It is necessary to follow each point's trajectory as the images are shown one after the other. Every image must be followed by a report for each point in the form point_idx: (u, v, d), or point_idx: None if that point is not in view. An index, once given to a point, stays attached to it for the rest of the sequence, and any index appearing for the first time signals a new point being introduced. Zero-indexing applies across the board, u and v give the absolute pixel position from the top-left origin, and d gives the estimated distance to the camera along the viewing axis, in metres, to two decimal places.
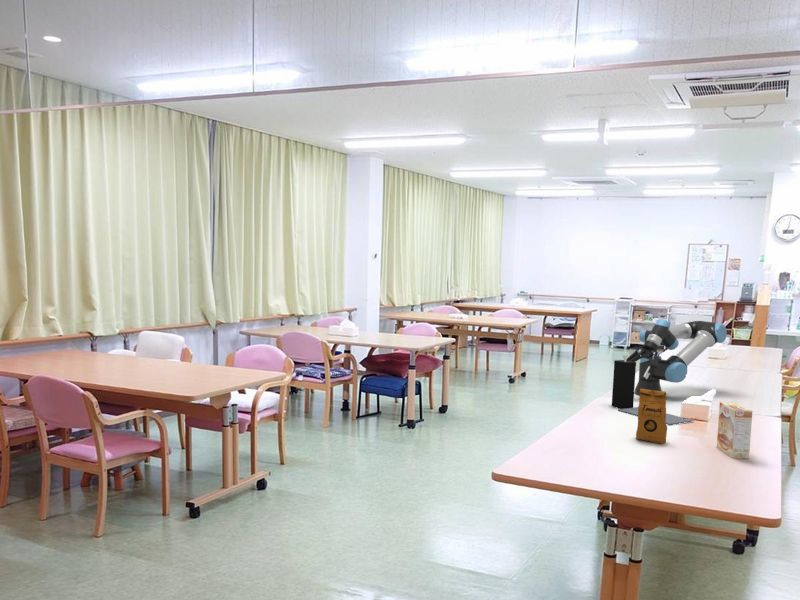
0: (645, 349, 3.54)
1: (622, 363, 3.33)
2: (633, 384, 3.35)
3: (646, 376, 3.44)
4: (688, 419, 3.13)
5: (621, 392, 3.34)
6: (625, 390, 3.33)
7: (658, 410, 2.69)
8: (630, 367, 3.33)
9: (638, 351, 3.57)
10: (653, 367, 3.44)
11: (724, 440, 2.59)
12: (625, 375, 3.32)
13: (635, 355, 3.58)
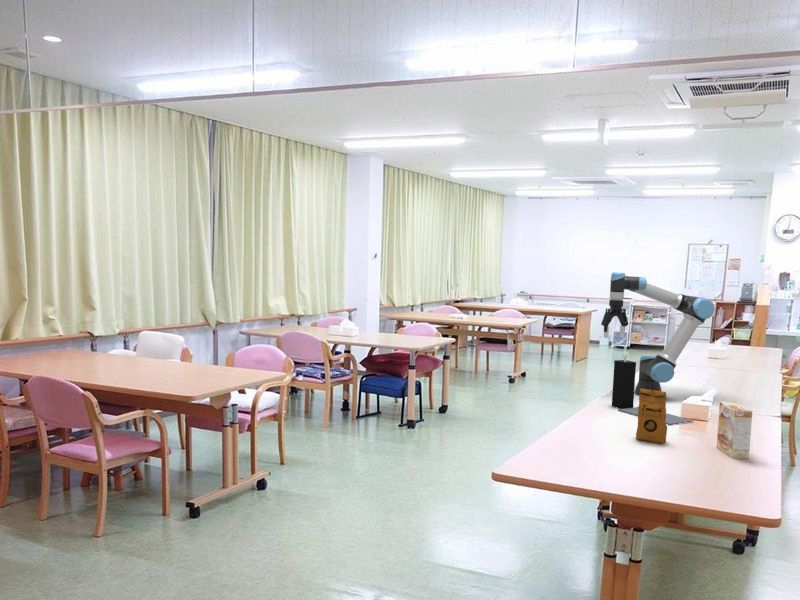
0: None
1: (622, 363, 3.33)
2: (633, 384, 3.35)
3: (605, 336, 3.58)
4: (688, 419, 3.13)
5: (621, 392, 3.34)
6: (625, 390, 3.33)
7: (658, 410, 2.69)
8: (630, 367, 3.33)
9: None
10: (604, 325, 3.57)
11: (724, 440, 2.59)
12: (625, 375, 3.32)
13: (623, 315, 3.63)
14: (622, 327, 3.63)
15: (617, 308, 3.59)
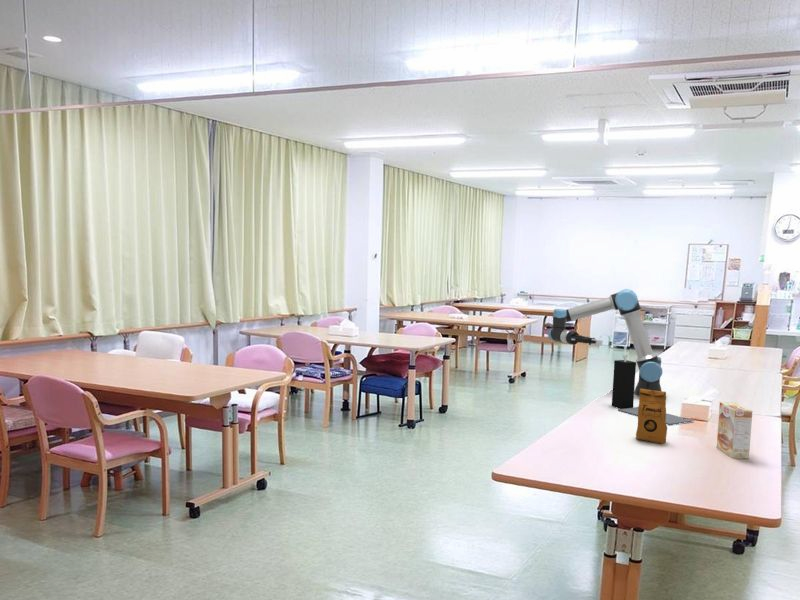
0: None
1: (622, 363, 3.33)
2: (633, 384, 3.35)
3: (599, 342, 3.51)
4: (688, 419, 3.13)
5: (621, 392, 3.34)
6: (625, 390, 3.33)
7: (658, 410, 2.69)
8: (630, 367, 3.33)
9: None
10: (589, 341, 3.56)
11: (724, 440, 2.59)
12: (625, 375, 3.32)
13: None
14: None
15: (576, 336, 3.67)
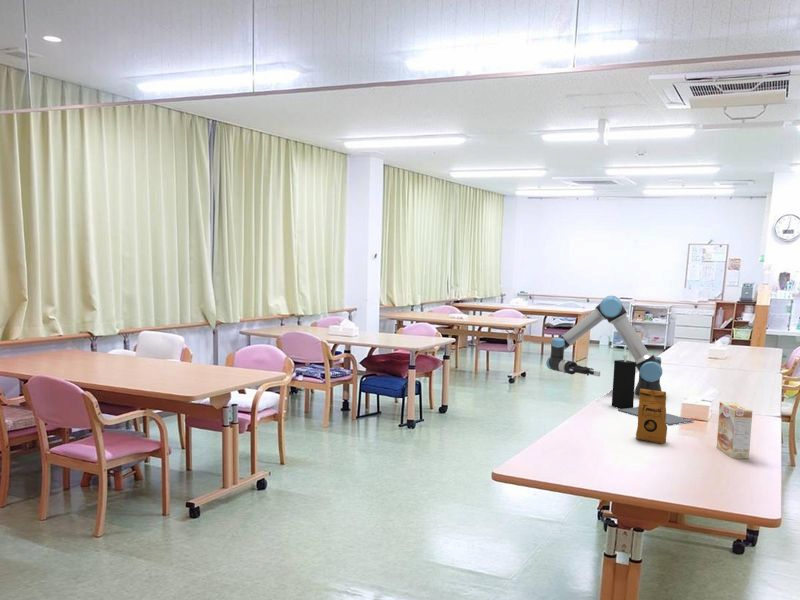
0: None
1: (622, 363, 3.33)
2: (633, 384, 3.35)
3: (597, 373, 3.52)
4: (688, 419, 3.13)
5: (621, 392, 3.34)
6: (625, 390, 3.33)
7: (658, 410, 2.69)
8: (630, 367, 3.33)
9: None
10: (587, 372, 3.57)
11: (724, 440, 2.59)
12: (625, 375, 3.32)
13: (586, 369, 3.65)
14: None
15: None
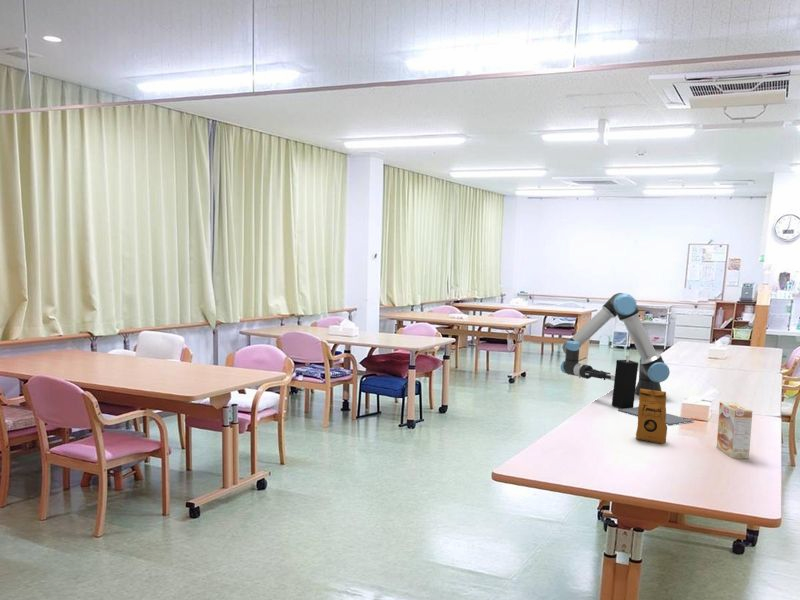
0: None
1: (624, 363, 3.32)
2: (634, 384, 3.34)
3: (614, 378, 3.40)
4: (688, 419, 3.13)
5: (622, 392, 3.33)
6: (626, 390, 3.33)
7: (658, 410, 2.69)
8: (632, 368, 3.32)
9: None
10: (603, 377, 3.44)
11: (724, 440, 2.59)
12: (627, 375, 3.31)
13: (602, 373, 3.52)
14: None
15: None
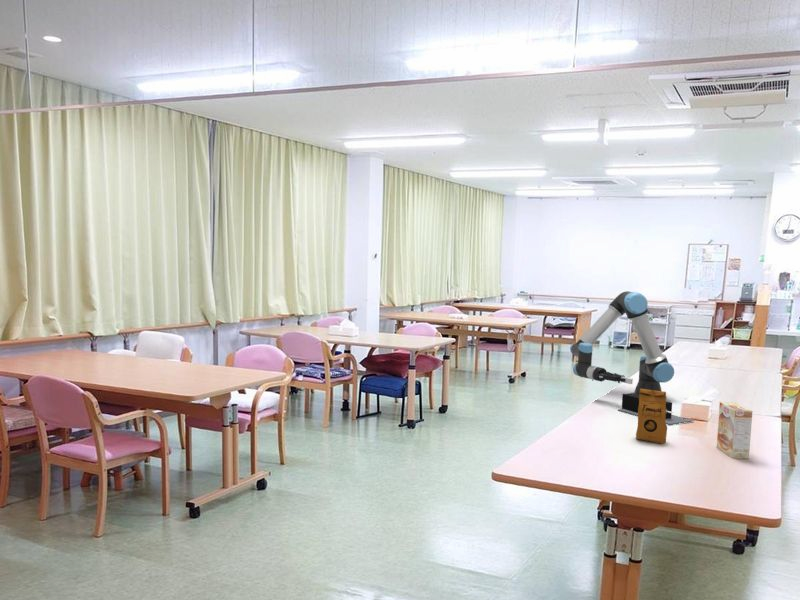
0: None
1: None
2: None
3: (629, 381, 3.33)
4: (688, 419, 3.13)
5: (634, 409, 3.24)
6: None
7: (658, 410, 2.69)
8: None
9: None
10: (618, 379, 3.37)
11: (724, 440, 2.59)
12: None
13: None
14: None
15: (604, 373, 3.48)
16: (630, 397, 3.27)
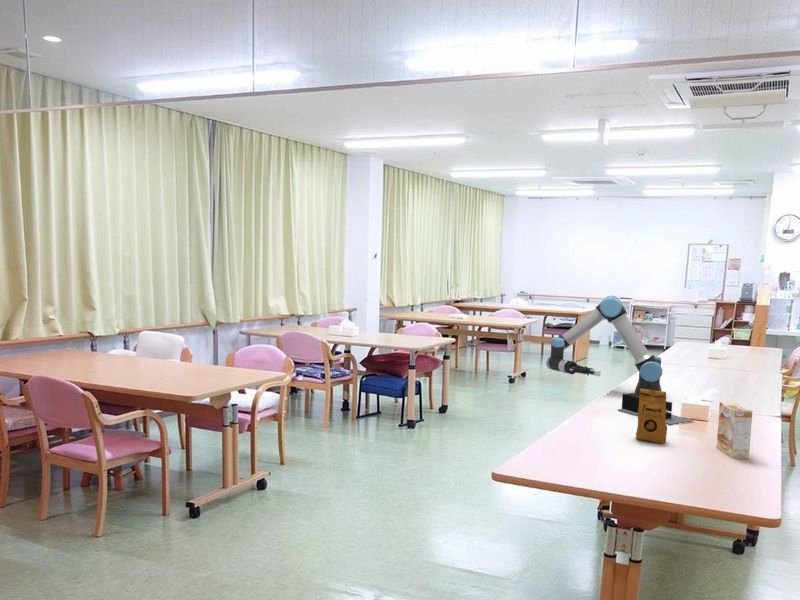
0: None
1: None
2: None
3: (597, 373, 3.52)
4: (688, 419, 3.13)
5: (634, 409, 3.24)
6: None
7: (658, 410, 2.69)
8: None
9: None
10: (587, 372, 3.57)
11: (724, 440, 2.59)
12: None
13: None
14: None
15: None
16: (630, 397, 3.27)
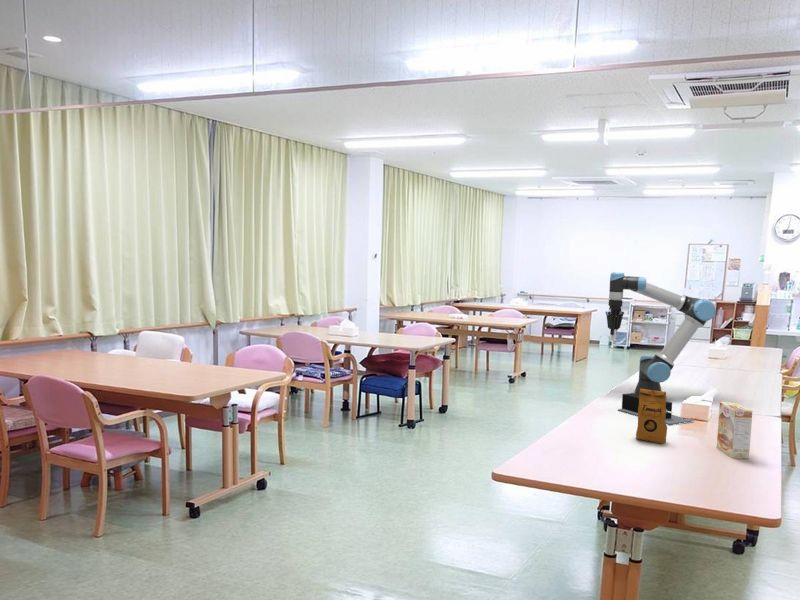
0: None
1: None
2: None
3: (612, 339, 3.64)
4: (688, 419, 3.13)
5: (634, 409, 3.24)
6: None
7: (658, 410, 2.69)
8: None
9: None
10: (610, 328, 3.63)
11: (724, 440, 2.59)
12: None
13: (619, 317, 3.65)
14: None
15: (616, 308, 3.62)
16: (630, 397, 3.27)
